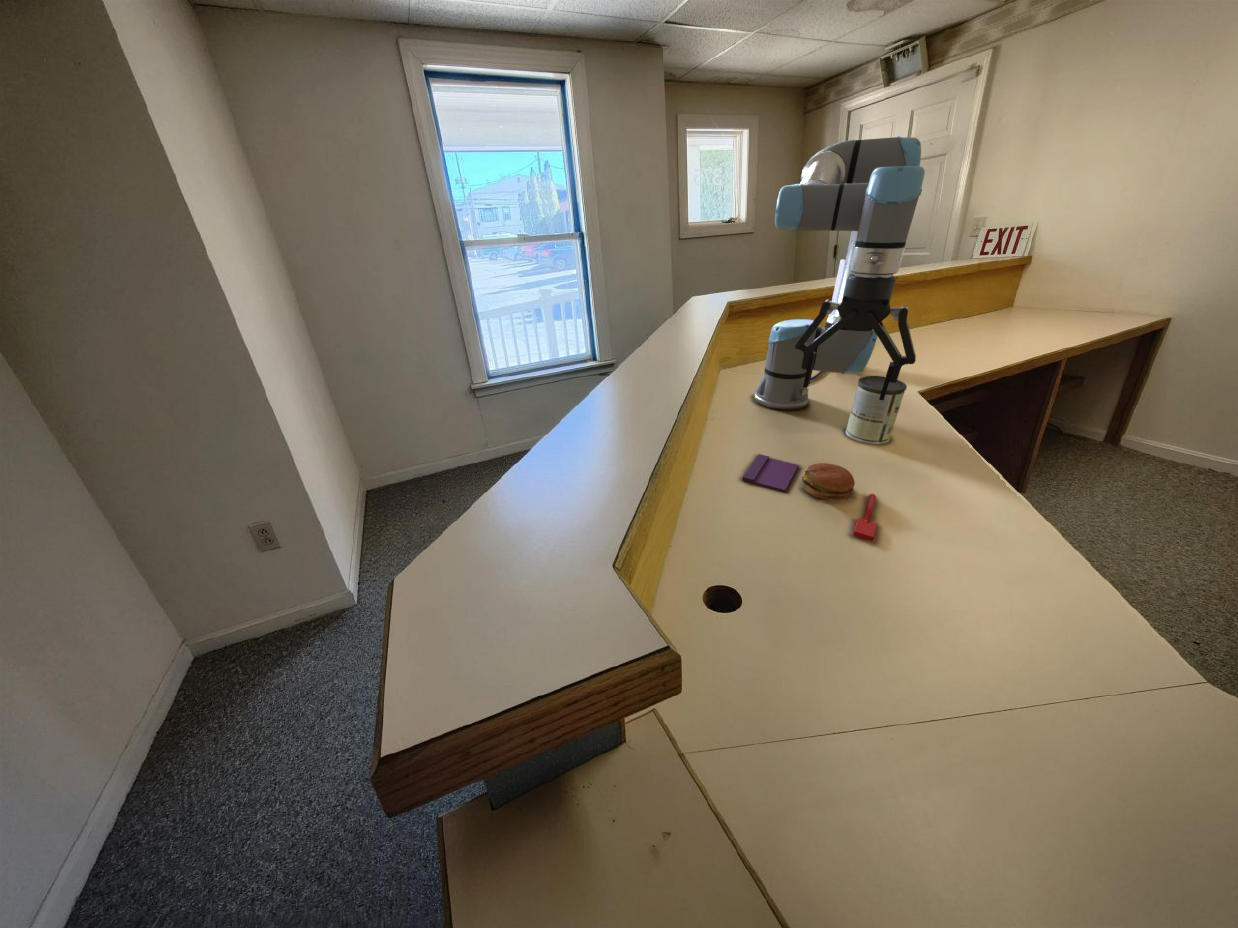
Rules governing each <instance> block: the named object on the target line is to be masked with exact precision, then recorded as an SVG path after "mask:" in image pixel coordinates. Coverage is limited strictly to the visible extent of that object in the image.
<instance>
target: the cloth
mask: <svg viewBox="0 0 1238 928" xmlns="http://www.w3.org/2000/svg"><path fill="white" fill-rule="evenodd" d="M798 468H799V464H795V463H791V462H787V461H783V460H778V459H776V458H775V459H774V458H770V456H769V455H764V454H761V453H758V455H756V457H755V459H754V461H752V463H751V464H750V466H749V468H748V469H747V470H746V472H745V473H744V474H743V476H742V481H744V482H746V483H747V482H748V483H750V484H751V483H752V484H755V485H758V486H763V487H766V488H769V489H773V490H777V491H779V492H784V493H785V492H786V491H787V489H788V487H789V485H790V483H791V481H792V479H793V477H794V475H795V473H796V472H797V470H798Z"/></svg>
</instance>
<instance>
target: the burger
mask: <svg viewBox="0 0 1238 928" xmlns="http://www.w3.org/2000/svg"><path fill="white" fill-rule="evenodd" d="M801 481H802V483H803V486H802V487H803V489H804V491H805V492H806V493H807V494H808V495H810V496H812V497H814V498H816V499H819V500H826V501H830V500H834V501H844V500H845V501H846V500H850V499H851V498H852V497H853V494H854V487H855V484H856V482H855V477H854V476H853V474H852V473H851V471H849V470H848V469H847V468H845V467H843V466H842V465H838V464H835V463H828V462H816V463H813V464H810V465H809V466H808V467H807V468H806V470H805V471H804V473H803V476H801Z"/></svg>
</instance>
